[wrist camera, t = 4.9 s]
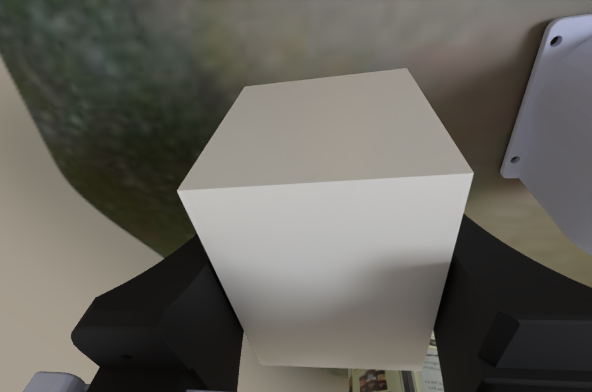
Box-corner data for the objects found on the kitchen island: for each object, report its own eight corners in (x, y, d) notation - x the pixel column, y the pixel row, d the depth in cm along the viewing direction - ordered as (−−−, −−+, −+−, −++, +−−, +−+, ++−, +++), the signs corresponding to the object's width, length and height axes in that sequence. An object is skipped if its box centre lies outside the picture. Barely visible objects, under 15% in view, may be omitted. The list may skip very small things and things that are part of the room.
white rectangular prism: (393, 237, 16) (421, 371, 11) (282, 240, 17) (260, 364, 12) (406, 68, 11) (474, 172, 6) (244, 86, 12) (176, 190, 7)
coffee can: (413, 338, 36) (449, 508, 25) (331, 318, 35) (330, 486, 24) (468, 291, 29) (548, 493, 18) (369, 265, 28) (391, 462, 17)
